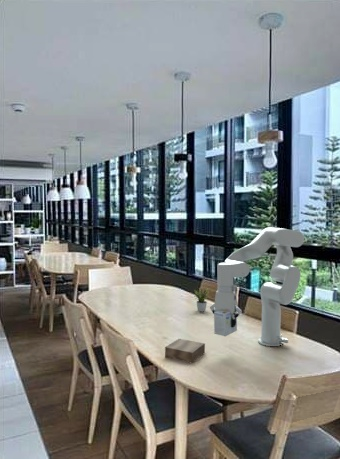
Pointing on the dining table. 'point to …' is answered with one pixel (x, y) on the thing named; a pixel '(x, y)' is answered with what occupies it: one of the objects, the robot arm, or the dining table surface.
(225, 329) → the light bulb box
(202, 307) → the house plant
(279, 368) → the dining table surface
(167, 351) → the walnut block
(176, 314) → the dining table surface
